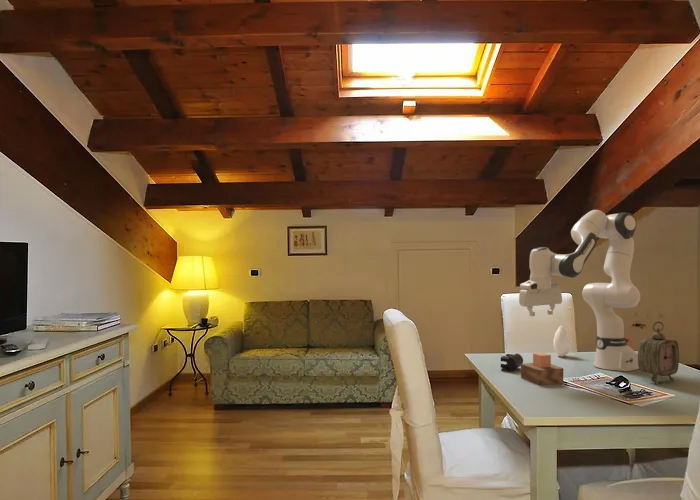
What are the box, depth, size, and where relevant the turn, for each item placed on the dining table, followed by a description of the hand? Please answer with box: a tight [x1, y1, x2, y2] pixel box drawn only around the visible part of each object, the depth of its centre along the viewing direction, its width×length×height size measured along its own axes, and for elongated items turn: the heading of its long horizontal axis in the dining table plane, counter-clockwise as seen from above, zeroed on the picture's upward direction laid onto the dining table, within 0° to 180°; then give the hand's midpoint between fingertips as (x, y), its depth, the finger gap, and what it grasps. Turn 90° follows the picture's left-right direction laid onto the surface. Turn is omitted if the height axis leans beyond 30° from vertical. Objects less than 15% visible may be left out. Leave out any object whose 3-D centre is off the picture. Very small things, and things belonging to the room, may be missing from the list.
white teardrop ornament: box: [553, 321, 571, 358], centre depth 261 cm, size 8×8×18 cm
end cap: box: [500, 353, 524, 373], centre depth 235 cm, size 10×7×7 cm
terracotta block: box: [532, 352, 552, 368], centre depth 216 cm, size 5×5×5 cm
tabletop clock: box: [637, 321, 680, 385], centre depth 212 cm, size 14×9×25 cm, turn 117°
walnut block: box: [520, 362, 564, 386], centre depth 216 cm, size 12×12×6 cm
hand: (541, 315), depth 226 cm, fingers open, 8 cm apart
